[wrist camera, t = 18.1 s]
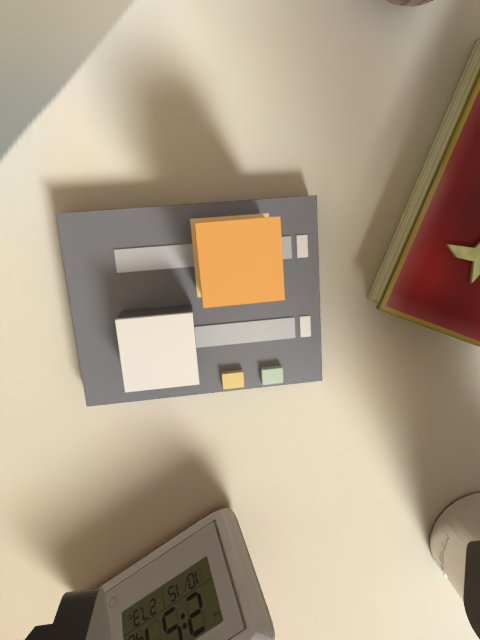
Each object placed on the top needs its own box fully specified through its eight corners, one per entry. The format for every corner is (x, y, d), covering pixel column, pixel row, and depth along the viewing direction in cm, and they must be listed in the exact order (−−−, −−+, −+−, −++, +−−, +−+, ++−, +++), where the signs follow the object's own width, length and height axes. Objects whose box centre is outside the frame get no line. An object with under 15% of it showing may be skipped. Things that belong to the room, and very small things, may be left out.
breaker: (130, 377, 33) (124, 392, 30) (121, 310, 31) (115, 320, 28) (198, 369, 33) (199, 384, 30) (192, 304, 32) (192, 312, 29)
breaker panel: (309, 196, 33) (319, 194, 31) (315, 372, 36) (324, 383, 34) (63, 214, 32) (52, 213, 29) (92, 396, 35) (84, 409, 32)
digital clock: (235, 493, 38) (252, 594, 28) (272, 572, 40) (301, 692, 30) (61, 569, 38) (14, 699, 28) (109, 643, 40) (81, 790, 30)
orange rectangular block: (264, 217, 28) (280, 216, 23) (268, 286, 29) (285, 300, 24) (193, 222, 28) (195, 223, 23) (200, 293, 29) (203, 308, 24)
